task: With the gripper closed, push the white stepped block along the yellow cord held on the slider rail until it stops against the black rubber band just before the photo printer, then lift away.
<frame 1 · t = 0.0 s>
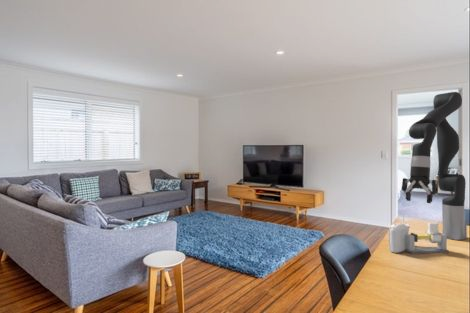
hand: (418, 201, 130), 22 cm above the table, tool pointing down, fingers open, 8 cm apart
smoothie: (402, 245, 139), on the table
slider rail: (426, 251, 129), on the table
white stepped block: (433, 232, 130), point 8 cm above the table, slide at 0.0 cm
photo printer: (398, 250, 131), on the table, touching slider rail
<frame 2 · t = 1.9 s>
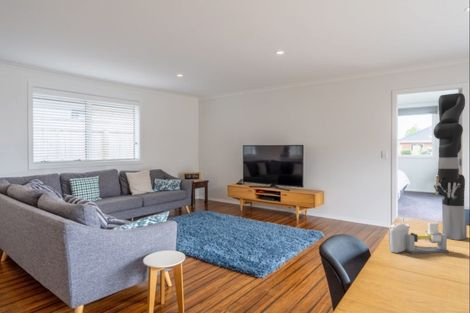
hand: (448, 205, 130), 20 cm above the table, tool pointing down, fingers closed
nothing on the table moved.
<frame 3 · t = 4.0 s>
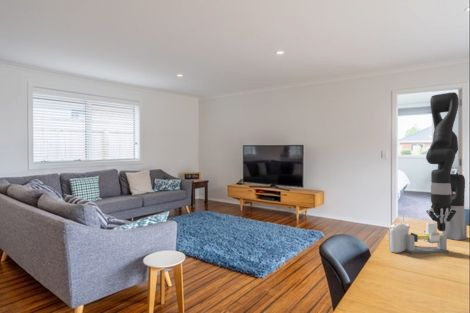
hand: (441, 230, 130), 9 cm above the table, tool pointing down, fingers closed
white stepped block: (431, 232, 130), point 8 cm above the table, slide at 0.9 cm, touching gripper
everything else where it was.
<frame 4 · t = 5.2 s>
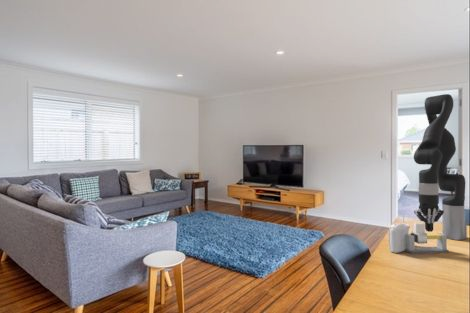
hand: (429, 231, 129), 9 cm above the table, tool pointing down, fingers closed
white stepped block: (419, 232, 129), point 8 cm above the table, slide at 6.6 cm, touching slider rail, gripper
everything else where it was.
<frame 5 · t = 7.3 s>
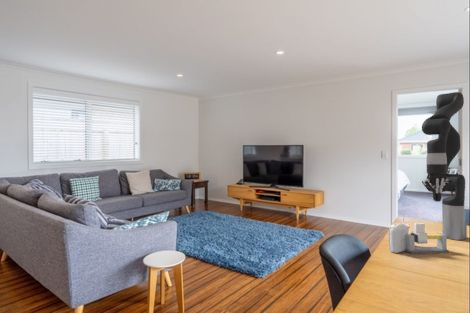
hand: (437, 201, 130), 23 cm above the table, tool pointing down, fingers closed
white stepped block: (419, 232, 129), point 8 cm above the table, slide at 6.6 cm
everything else where it was.
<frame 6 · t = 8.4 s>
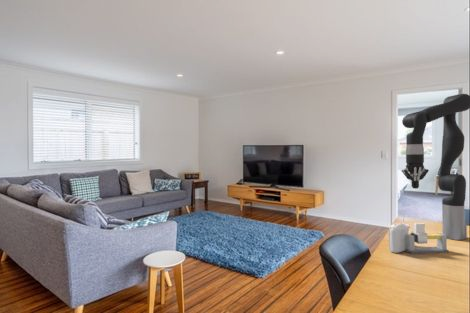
hand: (415, 188, 142), 27 cm above the table, tool pointing down, fingers closed
nothing on the table moved.
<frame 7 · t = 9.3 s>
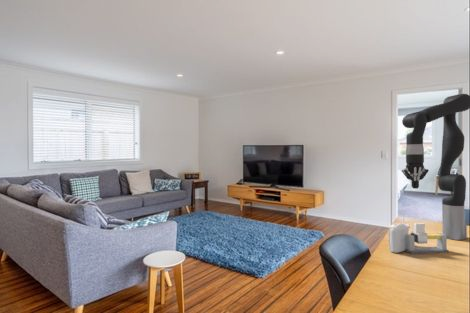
hand: (415, 188, 142), 27 cm above the table, tool pointing down, fingers closed
nothing on the table moved.
at the end: white stepped block slide at 6.6 cm; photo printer moved 0.1 cm from its start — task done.
